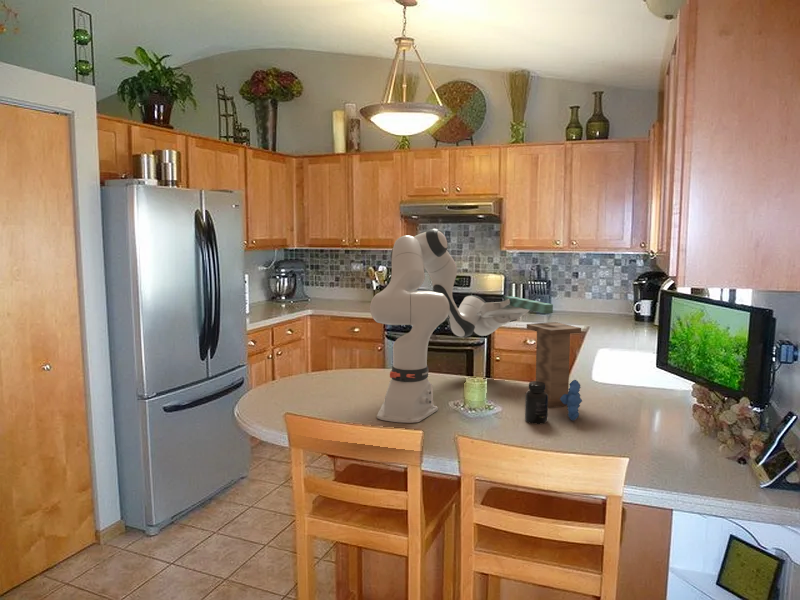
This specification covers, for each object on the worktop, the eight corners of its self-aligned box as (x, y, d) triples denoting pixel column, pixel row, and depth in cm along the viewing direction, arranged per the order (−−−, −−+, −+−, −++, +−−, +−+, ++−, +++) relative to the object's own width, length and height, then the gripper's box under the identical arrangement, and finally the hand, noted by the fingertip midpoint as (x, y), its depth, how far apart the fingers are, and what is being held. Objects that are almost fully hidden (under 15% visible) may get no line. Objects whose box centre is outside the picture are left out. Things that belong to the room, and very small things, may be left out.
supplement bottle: (520, 418, 185) (521, 381, 184) (539, 416, 187) (540, 379, 186) (532, 425, 179) (533, 386, 177) (552, 423, 181) (553, 384, 180)
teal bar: (504, 304, 227) (504, 296, 227) (511, 303, 228) (511, 296, 228) (545, 313, 203) (545, 304, 203) (552, 313, 204) (552, 304, 204)
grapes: (561, 411, 192) (562, 375, 191) (582, 413, 190) (583, 377, 189) (557, 422, 181) (558, 384, 180) (580, 425, 179) (581, 386, 178)
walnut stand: (525, 396, 209) (526, 324, 206) (553, 393, 213) (555, 321, 210) (549, 407, 196) (551, 330, 193) (578, 403, 201) (581, 328, 197)
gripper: (472, 308, 232) (488, 294, 220) (517, 305, 240) (535, 291, 228) (476, 323, 230) (493, 309, 218) (521, 320, 238) (539, 306, 226)
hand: (515, 300), depth 223 cm, fingers closed on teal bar, 3 cm apart
